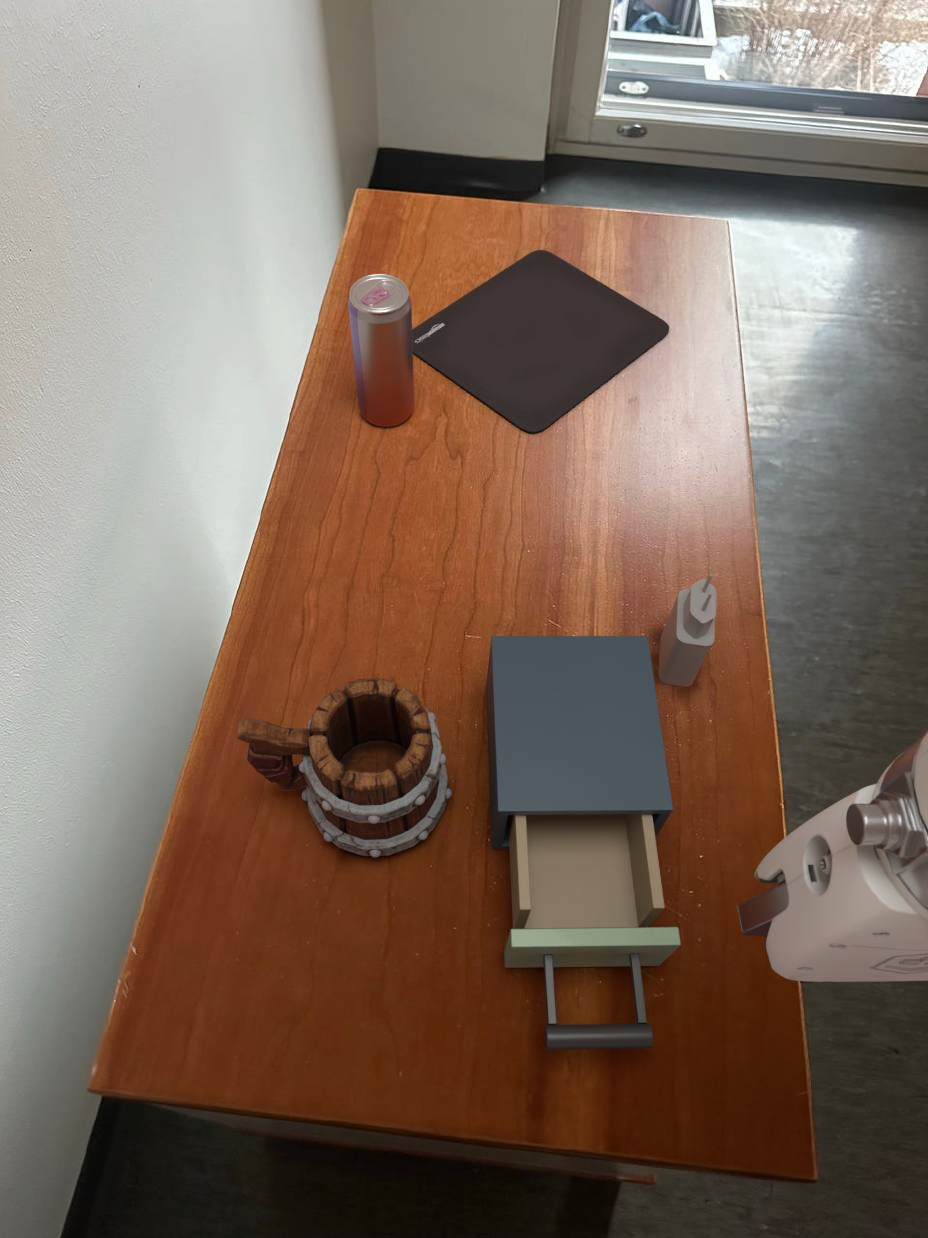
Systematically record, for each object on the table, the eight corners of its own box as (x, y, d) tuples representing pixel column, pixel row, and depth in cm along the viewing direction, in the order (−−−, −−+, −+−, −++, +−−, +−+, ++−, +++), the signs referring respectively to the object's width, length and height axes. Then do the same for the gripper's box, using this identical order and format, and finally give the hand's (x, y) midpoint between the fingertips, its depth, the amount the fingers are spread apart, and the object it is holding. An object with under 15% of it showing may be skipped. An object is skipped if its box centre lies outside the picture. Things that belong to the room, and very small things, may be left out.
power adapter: (658, 682, 79) (690, 609, 69) (660, 631, 82) (692, 553, 72) (693, 688, 79) (730, 615, 69) (694, 636, 82) (730, 559, 72)
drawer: (671, 1056, 62) (694, 1043, 57) (508, 1058, 62) (515, 1045, 56) (637, 791, 73) (654, 758, 67) (497, 792, 72) (503, 758, 67)
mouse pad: (540, 247, 112) (540, 245, 112) (675, 328, 104) (675, 327, 104) (395, 340, 102) (395, 339, 102) (533, 438, 94) (533, 436, 94)
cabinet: (649, 848, 71) (673, 810, 64) (491, 849, 71) (498, 811, 64) (628, 686, 79) (647, 635, 72) (486, 686, 79) (491, 635, 71)
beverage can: (347, 409, 96) (333, 292, 83) (387, 381, 98) (379, 263, 86) (386, 438, 94) (378, 322, 81) (425, 409, 96) (424, 292, 84)
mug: (464, 862, 70) (430, 793, 57) (288, 876, 71) (216, 812, 59) (459, 726, 76) (427, 636, 64) (297, 741, 78) (234, 657, 65)
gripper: (805, 949, 27) (671, 1034, 43) (1280, 943, 28) (977, 1029, 43) (757, 725, 31) (650, 877, 47) (1173, 724, 32) (931, 874, 47)
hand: (808, 950), depth 45 cm, fingers closed
